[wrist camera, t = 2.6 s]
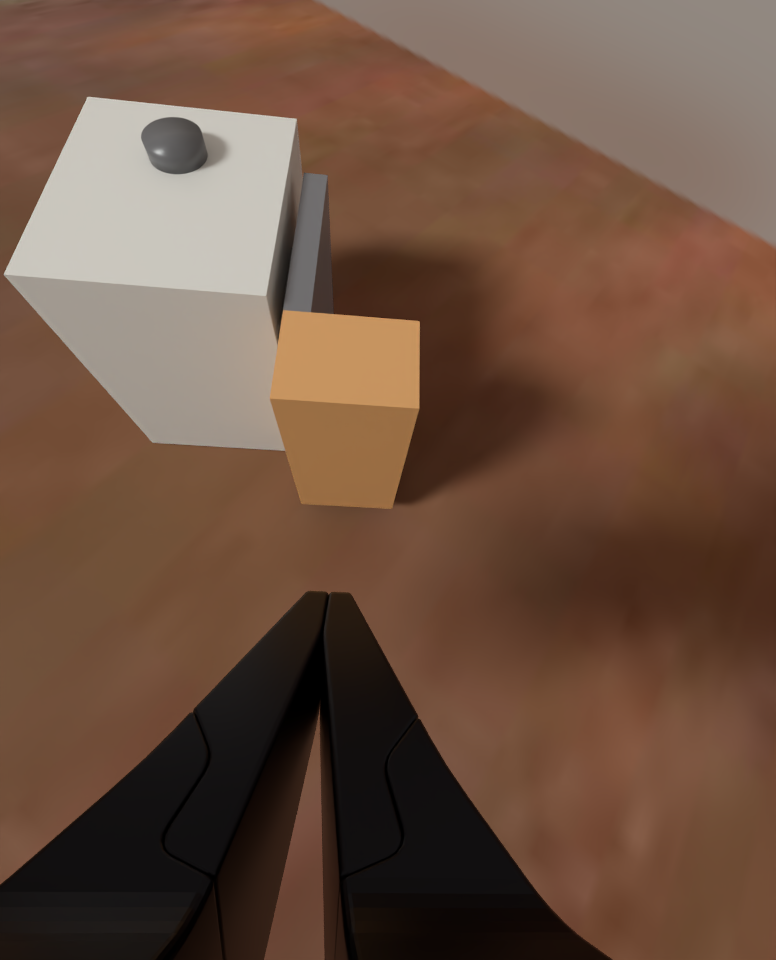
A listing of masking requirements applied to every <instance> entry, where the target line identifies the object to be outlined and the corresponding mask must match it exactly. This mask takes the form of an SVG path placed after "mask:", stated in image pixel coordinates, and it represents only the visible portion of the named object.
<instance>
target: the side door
mask: <svg viewBox="0 0 776 960" xmlns="http://www.w3.org/2000/svg"><path fill="white" fill-rule="evenodd" d="M419 363H420V321H413V320H400V319H388V318H375V317H363V316H350V315H338V314H334V307H333V285H332V263H331V241H330V219H329V197H328V175H321V174H310V173H304V176H303V182H302V189H301V196H300V202H299V209H298V215H297V222H296V228H295V235H294V242H293V248H292V255H291V261H290V268H289V274H288V281H287V287H286V294H285V301H284V307H283V314H282V320H281V327H280V333H279V340H278V347H277V353H276V360H275V366H274V373H273V379H272V386H271V392H270V402H271V405H272V408H273V411H274V415H275V418H276V421H277V425H278V428H279V431H280V435H281V438H282V441H283V445H284V448H285V451H286V455H287V458H288V461H289V465H290V468H291V471H292V475H293V478H294V481H295V485H296V488H297V491H298V495H299V498H300V501H301V504H312V505H331V506H349V507H368V508H386V509H392V507H393V503H394V500H395V496H396V492H397V489H398V485H399V481H400V478H401V474H402V470H403V467H404V463H405V459H406V456H407V452H408V448H409V445H410V441H411V437H412V434H413V430H414V426H415V423H416V419H417V415H418V412H419Z"/></svg>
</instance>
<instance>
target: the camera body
mask: <svg viewBox="0 0 776 960" xmlns="http://www.w3.org/2000/svg"><path fill="white" fill-rule="evenodd" d="M302 182H303V177H302V167H301V157H300V146H299V136H298V126H297V119H293V118H283V117H274V116H264V115H255V114H245V113H236V112H226V111H217V110H208V109H198V108H189V107H179V106H170V105H160V104H151V103H141V102H132V101H123V100H113V99H104V98H94V97H87V100H86V102H85V104H84V106H83V108H82V110H81V112H80V114H79V116H78V119H77V121H76V123H75V125H74V127H73V129H72V131H71V133H70V135H69V138H68V140H67V142H66V144H65V146H64V148H63V150H62V152H61V154H60V157H59V159H58V161H57V163H56V165H55V167H54V169H53V171H52V173H51V176H50V178H49V180H48V182H47V184H46V186H45V188H44V190H43V193H42V195H41V197H40V199H39V201H38V203H37V205H36V207H35V209H34V212H33V214H32V216H31V218H30V220H29V222H28V224H27V226H26V228H25V231H24V233H23V235H22V237H21V239H20V241H19V243H18V245H17V247H16V250H15V252H14V254H13V256H12V258H11V260H10V262H9V264H8V267H7V269H6V271H5V273H4V275H5V277H6V278H7V279H8V280H9V281H10V282H11V283H12V285H13V286H14V287H15V288H16V289H17V290H18V291H19V292H20V294H21V295H22V296H23V297H24V298H25V299H26V300H27V301H28V303H29V304H30V305H31V306H32V307H33V308H34V309H35V310H36V312H37V313H38V314H39V315H40V316H41V317H42V318H43V319H44V321H45V322H46V323H47V324H48V325H49V326H50V327H51V328H52V330H53V331H54V332H55V333H56V334H57V335H58V336H59V337H60V339H61V340H62V341H63V342H64V343H65V344H66V345H67V346H68V348H69V349H70V350H71V351H72V352H73V353H74V354H75V356H76V357H77V358H78V359H79V360H80V361H81V362H82V363H83V365H84V366H85V367H86V368H87V369H88V370H89V371H90V372H91V374H92V375H93V376H94V377H95V378H96V379H97V380H98V381H99V383H100V384H101V385H102V386H103V387H104V388H105V389H106V390H107V392H108V393H109V394H110V395H111V396H112V397H113V398H114V399H115V401H116V402H117V403H118V404H119V405H120V406H121V407H122V408H123V410H124V411H125V412H126V413H127V414H128V415H129V416H130V418H131V419H132V420H133V421H134V422H135V423H136V424H137V425H138V427H139V428H140V429H141V430H142V431H143V432H144V433H145V434H146V436H147V437H148V438H149V439H150V440H151V441H152V442H153V443H167V444H183V445H199V446H216V447H232V448H248V449H265V450H281V451H285V448H284V445H283V441H282V438H281V435H280V431H279V428H278V425H277V421H276V418H275V415H274V411H273V408H272V405H271V402H270V392H271V386H272V379H273V373H274V366H275V360H276V353H277V347H278V340H279V333H280V327H281V320H282V314H283V307H284V301H285V294H286V287H287V281H288V274H289V268H290V261H291V255H292V248H293V242H294V235H295V228H296V222H297V215H298V209H299V202H300V196H301V189H302Z"/></svg>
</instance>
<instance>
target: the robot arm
mask: <svg viewBox="0 0 776 960" xmlns="http://www.w3.org/2000/svg"><path fill="white" fill-rule="evenodd" d="M319 709H320V756H321V804H322V852H323V900H324V948H325V960H612V959H611V958H610V957H608V956H607V955H605V954H604V953H603V952H601V951H600V950H598V949H597V948H596V947H594V946H593V945H591V944H590V943H589V942H587V941H586V940H585V939H583V938H582V937H581V936H579V935H578V934H577V933H576V932H575V931H573V930H572V929H571V928H570V927H569V926H568V925H567V924H566V923H565V922H564V921H563V920H562V919H561V918H560V917H559V916H558V915H557V914H556V913H555V912H554V911H553V910H552V909H551V908H550V907H549V906H548V904H547V903H546V902H545V901H544V900H543V899H542V897H541V896H540V895H539V894H538V892H537V891H536V890H535V888H534V887H533V886H532V884H531V883H530V882H529V880H528V879H527V878H526V876H525V875H524V874H523V872H522V871H521V869H520V868H519V867H518V865H517V864H516V862H515V861H514V860H513V858H512V857H511V856H510V854H509V853H508V851H507V850H506V849H505V847H504V846H503V844H502V843H501V842H500V840H499V839H498V837H497V836H496V835H495V833H494V832H493V831H492V829H491V828H490V826H489V825H488V824H487V822H486V821H485V819H484V818H483V817H482V815H481V814H480V812H479V811H478V810H477V808H476V807H475V806H474V804H473V803H472V801H471V800H470V799H469V797H468V796H467V794H466V793H465V791H464V790H463V788H462V787H461V785H460V784H459V783H458V781H457V780H456V778H455V777H454V775H453V774H452V772H451V771H450V769H449V768H448V766H447V765H446V763H445V761H444V760H443V758H442V756H441V755H440V753H439V751H438V750H437V748H436V746H435V745H434V743H433V741H432V740H431V738H430V736H429V734H428V732H427V731H426V729H425V727H424V725H423V723H422V722H421V720H420V719H418V715H417V713H416V711H415V709H414V707H413V706H412V704H411V702H410V700H409V698H408V697H407V695H406V693H405V691H404V689H403V687H402V686H401V684H400V682H399V680H398V678H397V676H396V675H395V673H394V671H393V669H392V667H391V666H390V664H389V662H388V660H387V658H386V656H385V655H384V653H383V651H382V649H381V647H380V646H379V644H378V642H377V640H376V638H375V636H374V635H373V633H372V631H371V629H370V627H369V626H368V624H367V622H366V620H365V618H364V616H363V615H362V613H361V611H360V609H359V607H358V606H357V604H356V602H355V600H354V598H353V596H352V595H351V594H350V593H346V592H331V593H330V594H329V595H328V593H327V592H323V591H308V592H306V593H305V594H304V595H303V596H302V597H301V598H300V599H299V600H298V601H297V602H296V603H295V604H294V605H293V606H292V607H291V608H290V610H289V611H288V612H287V613H286V614H285V615H284V616H283V617H282V618H281V619H280V620H279V621H278V622H277V623H276V624H275V625H274V626H273V627H272V628H271V629H270V630H269V631H268V632H267V633H266V635H265V636H264V637H263V638H262V639H261V640H260V641H259V642H258V643H257V644H256V645H255V646H254V647H253V648H252V649H251V650H250V651H249V652H248V653H247V654H246V655H245V656H244V657H243V658H242V660H241V661H240V662H239V663H238V664H237V665H236V666H235V667H234V668H233V669H232V670H231V671H230V672H229V673H228V674H227V675H226V676H225V677H224V678H223V679H222V680H221V681H220V682H219V683H218V685H217V686H216V687H215V688H214V689H213V690H212V691H211V692H210V693H209V694H208V695H207V696H206V697H205V698H204V699H203V700H202V701H201V702H200V703H199V704H198V705H197V706H196V707H195V708H194V710H193V713H189V714H188V715H187V716H186V718H185V719H184V720H183V721H182V722H181V723H180V724H179V725H178V726H177V727H176V728H175V729H174V730H173V731H172V732H171V733H170V734H169V735H168V736H167V737H166V738H165V739H164V740H163V741H162V742H161V743H160V744H159V745H158V746H157V747H156V748H155V749H154V750H153V751H152V752H151V753H150V754H149V755H148V756H147V757H146V758H145V759H144V760H142V761H141V762H140V763H139V764H138V765H137V766H136V767H135V768H134V769H133V770H131V771H130V772H129V773H128V774H127V775H126V776H125V777H124V778H123V779H121V780H120V781H119V782H118V783H117V784H116V785H115V786H114V787H113V788H112V789H110V790H109V791H108V792H107V793H106V794H105V795H104V796H102V797H101V798H100V799H99V800H98V801H97V802H95V803H94V804H93V805H92V806H91V807H90V808H89V809H87V810H86V811H85V812H84V813H83V814H82V815H80V816H79V817H78V818H77V819H76V820H75V821H74V822H72V823H71V824H70V825H69V826H68V827H67V828H66V829H64V830H63V831H62V832H61V833H60V834H59V835H57V836H56V837H55V838H54V839H53V840H52V841H51V842H49V843H48V844H47V845H46V846H45V847H44V848H42V849H41V850H40V851H39V852H38V853H37V854H36V855H34V856H33V857H32V858H31V859H30V860H29V861H27V862H26V863H25V864H24V865H23V866H22V867H21V868H19V869H18V870H17V871H16V872H15V873H14V874H12V875H11V876H10V877H9V878H8V879H6V880H5V881H4V882H3V883H2V884H0V960H264V957H265V952H266V948H267V943H268V939H269V934H270V930H271V926H272V921H273V917H274V912H275V908H276V903H277V899H278V894H279V890H280V886H281V881H282V877H283V872H284V868H285V863H286V859H287V854H288V850H289V846H290V841H291V837H292V832H293V828H294V823H295V819H296V814H297V810H298V806H299V801H300V797H301V792H302V788H303V783H304V779H305V775H306V770H307V766H308V761H309V757H310V752H311V748H312V743H313V739H314V735H315V730H316V725H317V720H318V715H319Z"/></svg>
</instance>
